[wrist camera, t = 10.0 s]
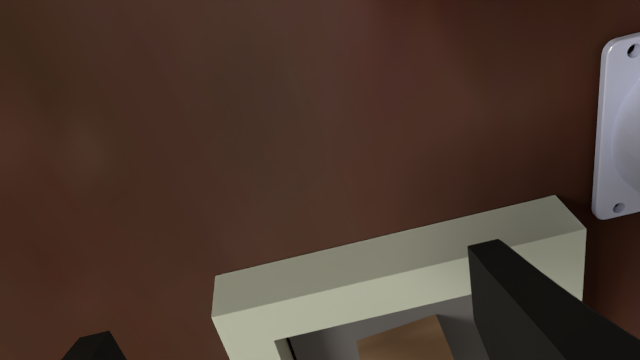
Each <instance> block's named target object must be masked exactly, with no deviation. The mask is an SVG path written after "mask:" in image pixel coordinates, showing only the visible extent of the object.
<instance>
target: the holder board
mask: <svg viewBox="0 0 640 360" xmlns="http://www.w3.org/2000/svg"><path fill="white" fill-rule="evenodd" d="M586 230H587V229H586V228H585V227H584V226H583V225H582V224H581V222H580V221H579V220H578V219H577V218H576V217H575V216H574V215H573V214H572V213H571V212H570V211H569V209H568V208H567V207H566V206H565V205H564V204H563V203H562V202H561V201H560V200H559V199H558V198H557V197H556V195H553V196H549V197H545V198H541V199H537V200H532V201H528V202H524V203H520V204H516V205H511V206H507V207H503V208H499V209H495V210H490V211H486V212H482V213H478V214H474V215H469V216H465V217H461V218H457V219H453V220H448V221H444V222H440V223H436V224H432V225H427V226H423V227H419V228H415V229H410V230H406V231H402V232H398V233H394V234H389V235H385V236H381V237H377V238H373V239H368V240H364V241H360V242H356V243H352V244H347V245H343V246H339V247H335V248H331V249H326V250H322V251H318V252H314V253H310V254H305V255H301V256H297V257H293V258H289V259H284V260H280V261H276V262H272V263H268V264H263V265H259V266H255V267H251V268H246V269H242V270H238V271H234V272H230V273H225V274H221V275H217V276H215V286H214V296H213V306H212V316H211V318H212V320H213V323H214V325H215V327H216V329H217V331H218V334H219V336H220V338H221V340H222V343H223V345H224V347H225V349H226V352H227V354H228V356H229V358H230V360H294V359H293V356H292V353H291V350H290V347H289V345H288V342H287V339H286V338H287V337H289V339H290V342H291V344H292V347H293V350H294V353H295V356H296V359H297V360H360V356H359V352H358V347H357V342H356V341H358V340H361V339H363V338H366V337H369V336H372V335H375V334H378V333H381V332H384V331H387V330H390V329H393V328H396V327H399V326H402V325H405V324H408V323H411V322H414V321H417V320H419V319H422V318H425V317H428V316H431V315H434V314H436V316H437V318H438V321H439V323H440V326H441V328H442V331H443V333H444V336H445V338H446V340H447V343H448V345H449V348H450V350H451V353H452V355H453V358H454V360H490V359H489V357H488V354H487V352H486V350H485V347H484V345H483V342H482V340H481V337H480V335H479V332H478V329H477V327H476V324H475V322H474V317H473V306H472V294H471V283H470V271H469V260H468V249H467V246H469V245H473V244H478V243H482V242H486V241H490V240H494V239H499V240H501V241H503V242H504V243H505V244H507V245H508V246H509V247H510V248H512V249H513V250H514V251H515V252H517V253H518V254H519V255H520V256H522V257H523V258H524V259H526V260H527V261H528V262H529V263H531V264H532V265H533V266H535V267H536V268H537V269H538V270H540V271H541V272H542V273H544V274H545V275H546V276H548V277H549V278H550V279H552V280H553V281H554V282H556V283H557V284H558V285H560V286H561V287H562V288H564V289H565V290H566V291H568V292H569V293H571V294H572V295H574V296H575V297H576V298H578V299H579V300H581V301H582V296H583V280H584V263H585V247H586Z"/></svg>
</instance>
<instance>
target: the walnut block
mask: <svg viewBox="0 0 640 360" xmlns="http://www.w3.org/2000/svg"><path fill="white" fill-rule="evenodd" d="M356 342H357V347H358V352H359V356H360V360H454V358H453V355H452V353H451V350H450V348H449V345H448V343H447V340H446V338H445V336H444V333H443V331H442V328H441V326H440V323H439V321H438V318H437V316H436V314H434V315H431V316H428V317H425V318H422V319H419V320H417V321H414V322H411V323H408V324H405V325H402V326H399V327H396V328H393V329H390V330H387V331H384V332H381V333H378V334H375V335H372V336H369V337H366V338H363V339H361V340H358V341H356Z"/></svg>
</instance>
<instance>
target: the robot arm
mask: <svg viewBox="0 0 640 360" xmlns="http://www.w3.org/2000/svg"><path fill="white" fill-rule="evenodd" d="M633 44H635V47H634V50H633V51H632V52H631V53H630V54H628V55H627V51H628V49H629V48H630V46H631V45H633ZM618 203H619V204H618ZM616 204H618V205H617V206H616V207H614V206H615V205H616ZM639 211H640V32H639V33H635V34H631V35H627V36H623V37H618V38H615V39H613V40H611V41H609V42H608V43H607V44H606V45H605V47H604V48H603V51H602V56H601V71H600V87H599V102H598V117H597V133H596V148H595V163H594V179H593V194H592V213H593V214H594V215H595V216H596V217H597V218H598V219H601V220H605V219H610V218H614V217H618V216H622V215H627V214H631V213H635V212H639ZM467 249H468V260H469V271H470V283H471V294H472V306H473V317H474V322H475V324H476V327H477V329H478V332H479V335H480V337H481V340H482V342H483V345H484V347H485V350H486V352H487V354H488V357H489V359H490V360H640V340H639V339H638V338H636V337H634V336H633V335H631V334H630V333H628V332H627V331H625V330H623V329H622V328H620V327H619V326H617V325H616V324H614V323H613V322H611V321H610V320H608V319H607V318H605V317H604V316H602V315H601V314H599V313H598V312H596V311H595V310H593V309H592V308H591V307H589V306H588V305H586V304H585V303H583V302H582V301H581V300H579V299H578V298H576V297H575V296H574V295H572V294H571V293H569V292H568V291H566V290H565V289H564V288H562V287H561V286H560V285H558V284H557V283H556V282H554V281H553V280H552V279H550V278H549V277H548V276H546V275H545V274H544V273H542V272H541V271H540V270H538V269H537V268H536V267H535V266H533V265H532V264H531V263H529V262H528V261H527V260H526V259H524V258H523V257H522V256H520V255H519V254H518V253H517V252H515V251H514V250H513V249H512V248H510V247H509V246H508V245H507V244H505V243H504V242H503V241H501V240H499V239H494V240H490V241H486V242H482V243H478V244H473V245H469V246H467ZM62 360H126V358H125V356H124V354H123V353H122V351H121V349H120V348H119V346H118V344H117V343H116V341H115V339H114V338H113V336H112V334H111V333H110V331H106V332H102V333H98V334H93V335H89V336H85V337H81V338H79V339H78V340H77V341H76V343H75V344H74V345H73V346H72V347H71V348H70V350H69V351H68V352H67V353H66V355H65V356H64V357H63V358H62Z"/></svg>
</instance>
